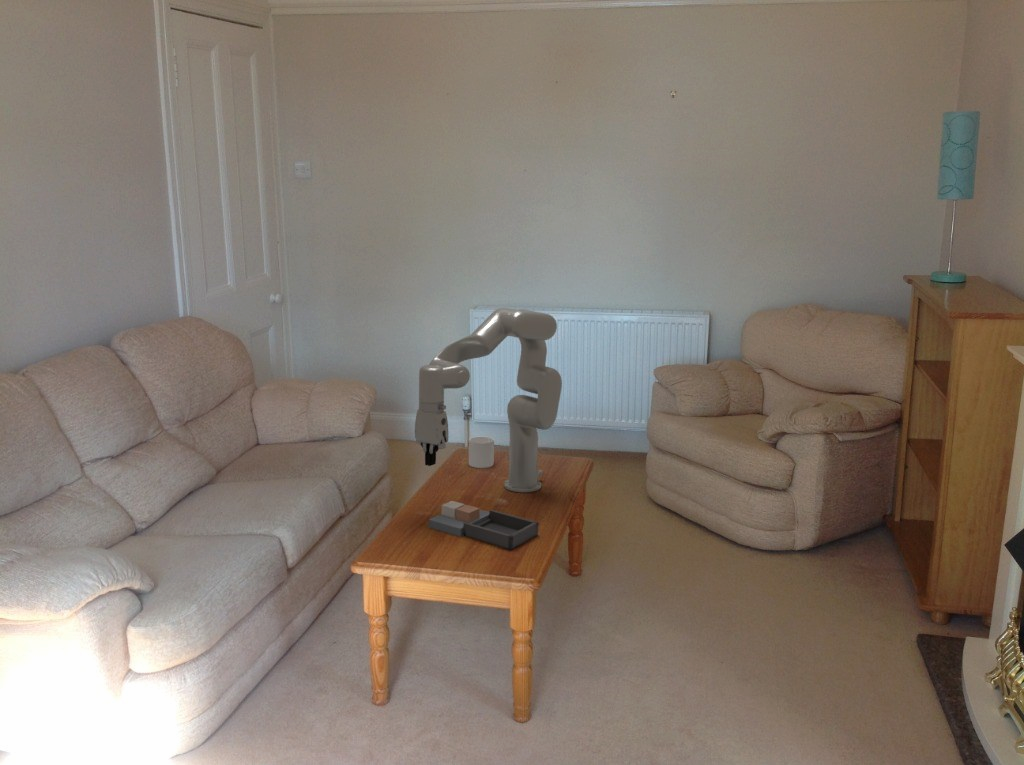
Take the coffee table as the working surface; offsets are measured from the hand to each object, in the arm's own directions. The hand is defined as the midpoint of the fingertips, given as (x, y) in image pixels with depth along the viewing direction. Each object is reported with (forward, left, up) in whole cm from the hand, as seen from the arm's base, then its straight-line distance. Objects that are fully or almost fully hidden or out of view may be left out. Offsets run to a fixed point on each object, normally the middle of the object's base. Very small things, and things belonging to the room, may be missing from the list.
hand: (430, 464), depth 294 cm
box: (0, +26, -17) cm, 31 cm away
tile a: (0, +9, -14) cm, 17 cm away
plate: (0, +12, -17) cm, 20 cm away
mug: (-52, -18, -17) cm, 58 cm away
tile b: (0, +14, -14) cm, 20 cm away
